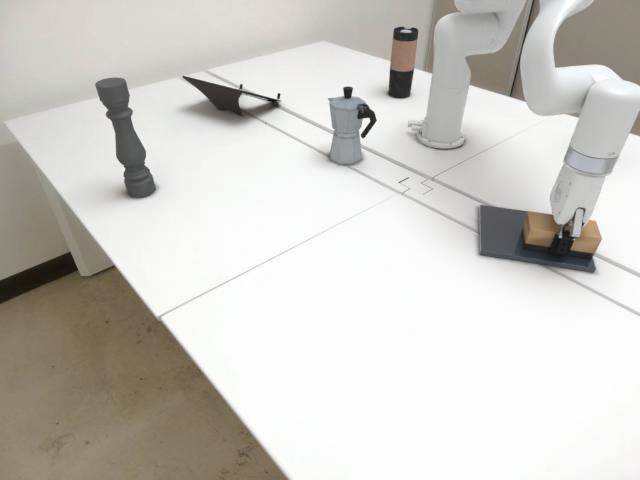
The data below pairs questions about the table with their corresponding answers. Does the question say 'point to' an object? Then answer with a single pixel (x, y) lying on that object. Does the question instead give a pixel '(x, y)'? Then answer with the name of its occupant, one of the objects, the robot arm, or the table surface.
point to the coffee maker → (348, 127)
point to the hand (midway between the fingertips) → (556, 242)
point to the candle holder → (126, 137)
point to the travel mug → (402, 61)
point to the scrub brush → (544, 228)
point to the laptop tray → (225, 95)
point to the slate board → (518, 240)
